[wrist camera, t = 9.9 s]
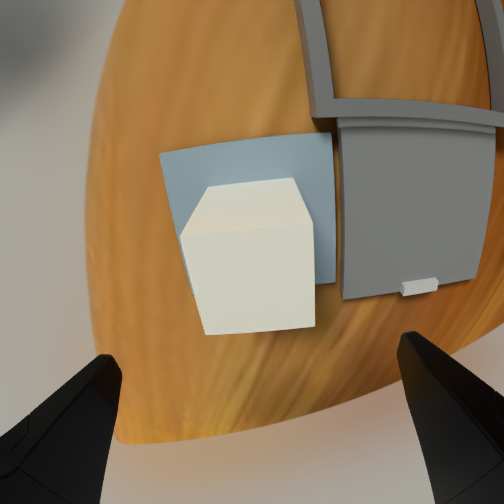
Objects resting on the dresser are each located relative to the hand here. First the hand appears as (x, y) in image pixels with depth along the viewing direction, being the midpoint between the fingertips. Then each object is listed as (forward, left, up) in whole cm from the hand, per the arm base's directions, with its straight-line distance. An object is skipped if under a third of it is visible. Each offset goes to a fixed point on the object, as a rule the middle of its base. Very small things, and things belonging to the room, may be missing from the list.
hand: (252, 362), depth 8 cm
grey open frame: (-11, -7, -12) cm, 18 cm away
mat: (0, 0, -12) cm, 12 cm away
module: (0, 0, -11) cm, 11 cm away
